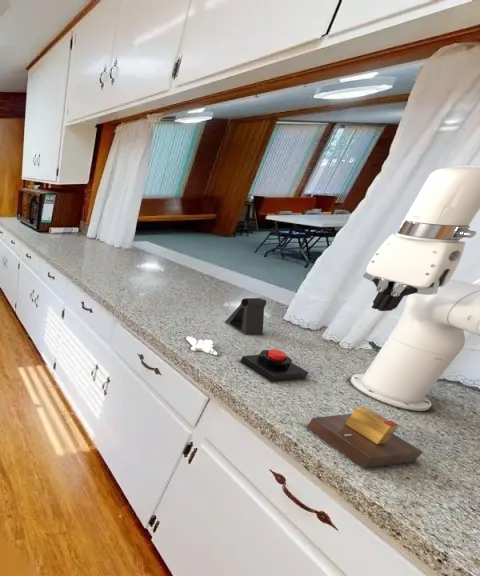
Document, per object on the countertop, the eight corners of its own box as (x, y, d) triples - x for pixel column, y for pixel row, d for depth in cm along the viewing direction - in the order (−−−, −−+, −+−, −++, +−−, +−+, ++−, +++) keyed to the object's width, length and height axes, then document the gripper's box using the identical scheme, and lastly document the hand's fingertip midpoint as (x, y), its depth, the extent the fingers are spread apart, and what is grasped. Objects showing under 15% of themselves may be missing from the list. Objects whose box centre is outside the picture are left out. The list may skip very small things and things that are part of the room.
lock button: (274, 353, 88) (277, 348, 87) (287, 360, 85) (290, 355, 84) (263, 354, 88) (266, 349, 87) (276, 361, 84) (279, 356, 84)
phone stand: (225, 321, 112) (236, 293, 107) (241, 321, 112) (252, 293, 107) (245, 334, 104) (257, 304, 99) (262, 334, 104) (275, 304, 99)
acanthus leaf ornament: (185, 339, 102) (187, 334, 101) (209, 343, 100) (211, 338, 99) (191, 351, 96) (193, 346, 95) (217, 355, 93) (219, 350, 92)
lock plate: (351, 422, 69) (358, 412, 68) (414, 461, 60) (424, 451, 59) (306, 427, 68) (312, 417, 67) (363, 468, 59) (372, 457, 58)
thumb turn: (344, 424, 65) (356, 406, 63) (352, 423, 65) (365, 405, 63) (377, 444, 60) (391, 426, 58) (385, 443, 61) (399, 425, 59)
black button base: (272, 359, 91) (277, 348, 90) (305, 378, 83) (311, 367, 81) (240, 361, 90) (244, 351, 89) (270, 381, 82) (276, 370, 80)
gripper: (508, 239, 54) (446, 324, 62) (394, 223, 68) (354, 295, 75) (474, 240, 54) (415, 326, 61) (365, 224, 67) (328, 296, 75)
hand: (381, 309), depth 68 cm, fingers closed
